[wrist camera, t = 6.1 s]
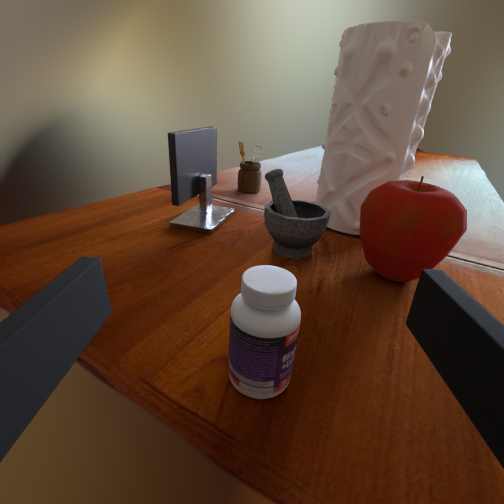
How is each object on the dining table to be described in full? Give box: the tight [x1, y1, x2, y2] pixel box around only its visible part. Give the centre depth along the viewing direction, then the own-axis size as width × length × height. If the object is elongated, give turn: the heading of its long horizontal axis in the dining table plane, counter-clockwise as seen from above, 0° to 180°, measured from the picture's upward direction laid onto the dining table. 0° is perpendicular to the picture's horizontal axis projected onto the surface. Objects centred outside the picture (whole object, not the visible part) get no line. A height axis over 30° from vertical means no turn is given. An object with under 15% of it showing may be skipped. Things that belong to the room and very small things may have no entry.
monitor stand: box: [169, 174, 234, 235], centre depth 56 cm, size 8×12×8 cm, turn 164°
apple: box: [360, 176, 467, 282], centre depth 40 cm, size 12×12×14 cm
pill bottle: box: [228, 265, 301, 399], centre depth 24 cm, size 5×5×10 cm
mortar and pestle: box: [264, 169, 331, 259], centre depth 46 cm, size 11×9×12 cm
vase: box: [316, 21, 452, 235], centre depth 54 cm, size 17×16×32 cm
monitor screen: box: [168, 127, 217, 206], centre depth 53 cm, size 1×16×11 cm, turn 163°
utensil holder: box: [238, 142, 261, 193], centre depth 75 cm, size 6×6×12 cm
